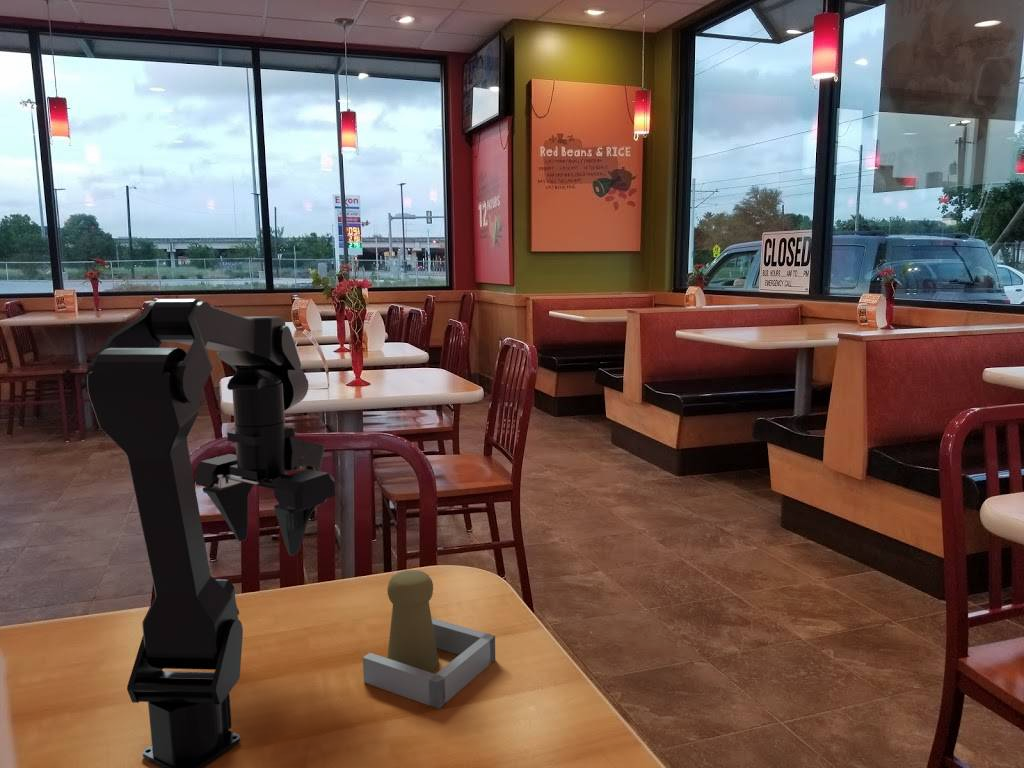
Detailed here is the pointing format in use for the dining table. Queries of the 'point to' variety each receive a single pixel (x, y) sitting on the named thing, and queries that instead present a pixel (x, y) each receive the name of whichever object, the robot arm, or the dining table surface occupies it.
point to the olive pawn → (412, 620)
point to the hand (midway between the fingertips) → (267, 547)
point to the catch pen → (444, 684)
